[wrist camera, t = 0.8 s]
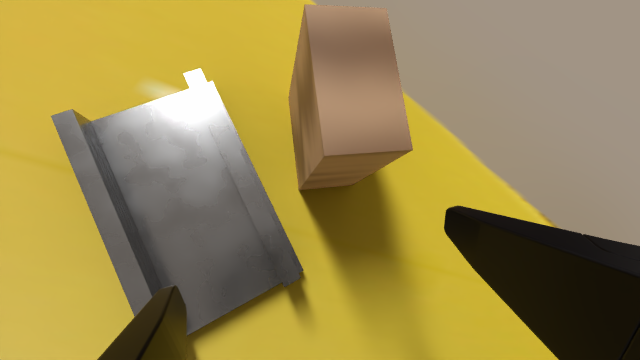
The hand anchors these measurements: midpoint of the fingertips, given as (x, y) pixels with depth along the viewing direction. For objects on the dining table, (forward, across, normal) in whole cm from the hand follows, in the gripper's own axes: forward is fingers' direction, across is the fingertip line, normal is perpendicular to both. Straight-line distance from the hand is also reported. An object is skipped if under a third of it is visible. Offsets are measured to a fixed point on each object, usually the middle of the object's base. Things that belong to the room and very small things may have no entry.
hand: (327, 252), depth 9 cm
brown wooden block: (+15, -4, +1) cm, 16 cm away
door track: (+13, +6, +4) cm, 15 cm away
